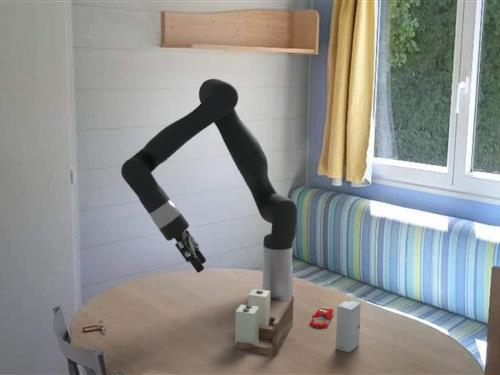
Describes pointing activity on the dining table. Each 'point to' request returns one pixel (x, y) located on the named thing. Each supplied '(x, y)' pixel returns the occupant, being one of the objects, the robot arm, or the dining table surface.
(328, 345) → the dining table surface
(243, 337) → the pale green dotted block
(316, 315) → the race car
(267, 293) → the white dotted block
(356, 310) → the skincare box
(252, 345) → the wooden divided rack
